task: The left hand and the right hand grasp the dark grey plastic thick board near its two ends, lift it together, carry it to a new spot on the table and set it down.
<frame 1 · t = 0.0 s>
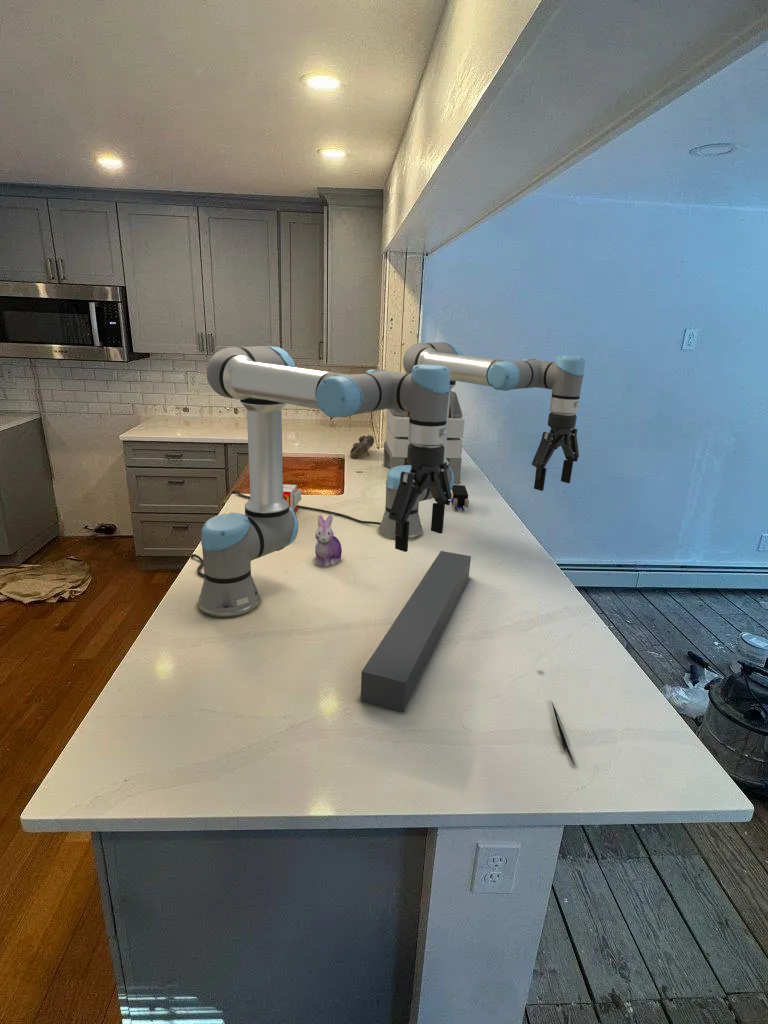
left hand: (419, 540, 122), 28 cm above the counter, tool pointing down, fingers open, 13 cm apart
right hand: (552, 485, 166), 28 cm above the counter, tool pointing down, fingers open, 13 cm apart
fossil: (361, 454, 304), on the counter
thick board: (425, 627, 142), on the counter
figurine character: (458, 507, 230), on the counter
toy: (282, 516, 211), on the counter
figurine: (327, 561, 176), on the counter
feather: (554, 714, 113), on the counter
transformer: (419, 473, 275), on the counter
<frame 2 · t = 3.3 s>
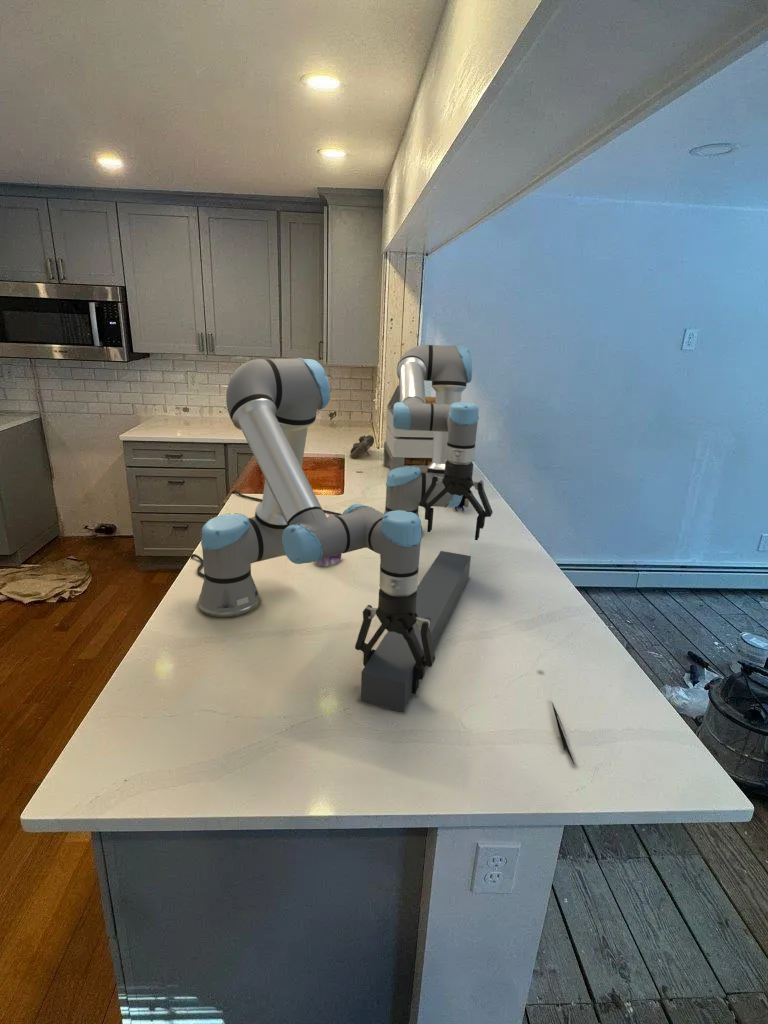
left hand: (392, 684, 119), 1 cm above the counter, tool pointing down, fingers closed on thick board, 9 cm apart
right hand: (452, 534, 159), 16 cm above the counter, tool pointing down, fingers open, 13 cm apart
thick board: (425, 627, 142), on the counter, touching left hand
everything else where it was.
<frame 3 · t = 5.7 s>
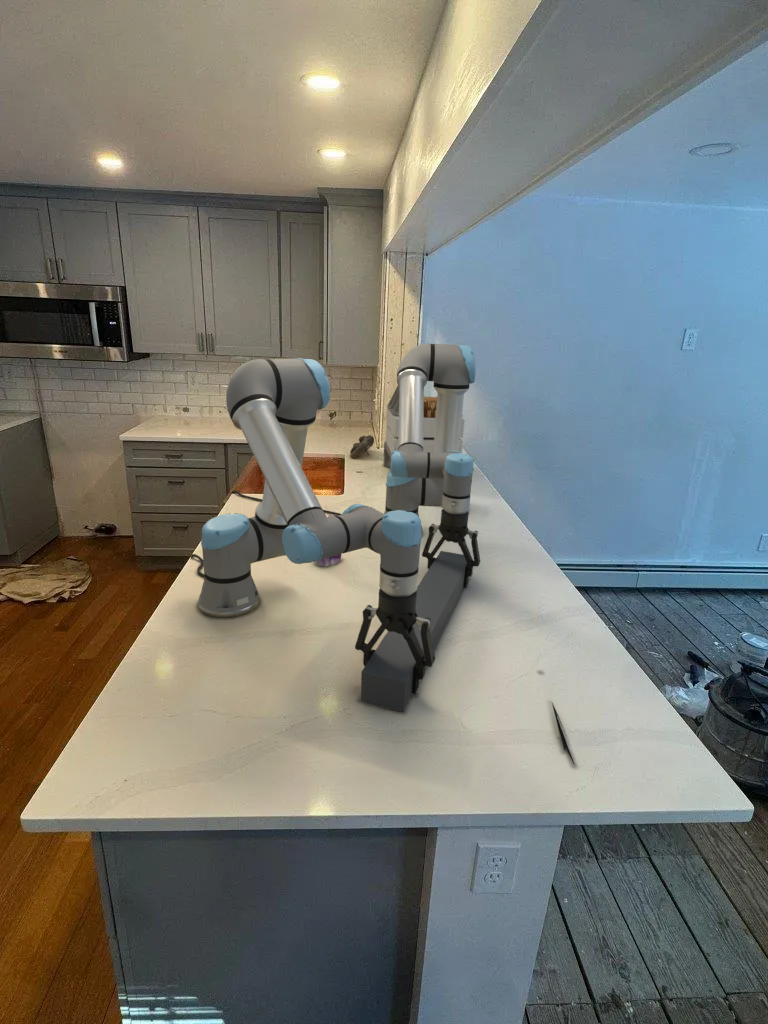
left hand: (392, 684, 119), 1 cm above the counter, tool pointing down, fingers closed on thick board, 9 cm apart
right hand: (448, 582, 165), 1 cm above the counter, tool pointing down, fingers closed on thick board, 9 cm apart
thick board: (425, 627, 142), on the counter, touching right hand, left hand
everything else where it was.
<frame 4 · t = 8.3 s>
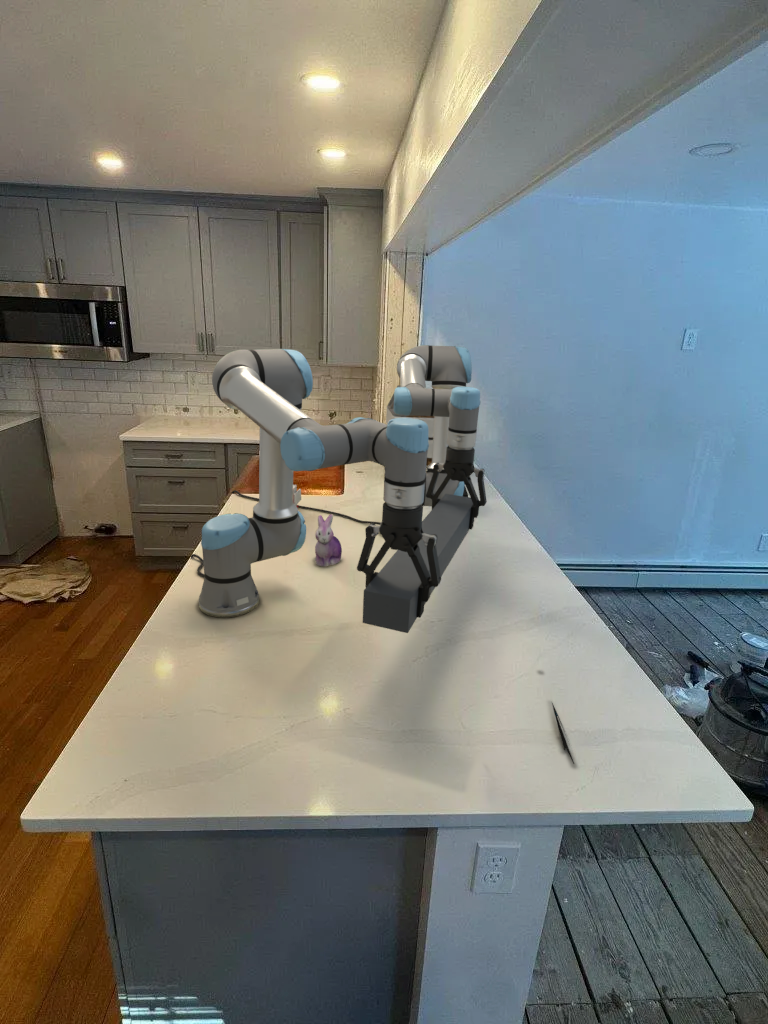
left hand: (396, 608, 113), 18 cm above the counter, tool pointing down, fingers closed on thick board, 9 cm apart
right hand: (453, 524, 159), 18 cm above the counter, tool pointing down, fingers closed on thick board, 9 cm apart
thick board: (429, 562, 136), point 18 cm above the counter, touching right hand, left hand
everything else where it was.
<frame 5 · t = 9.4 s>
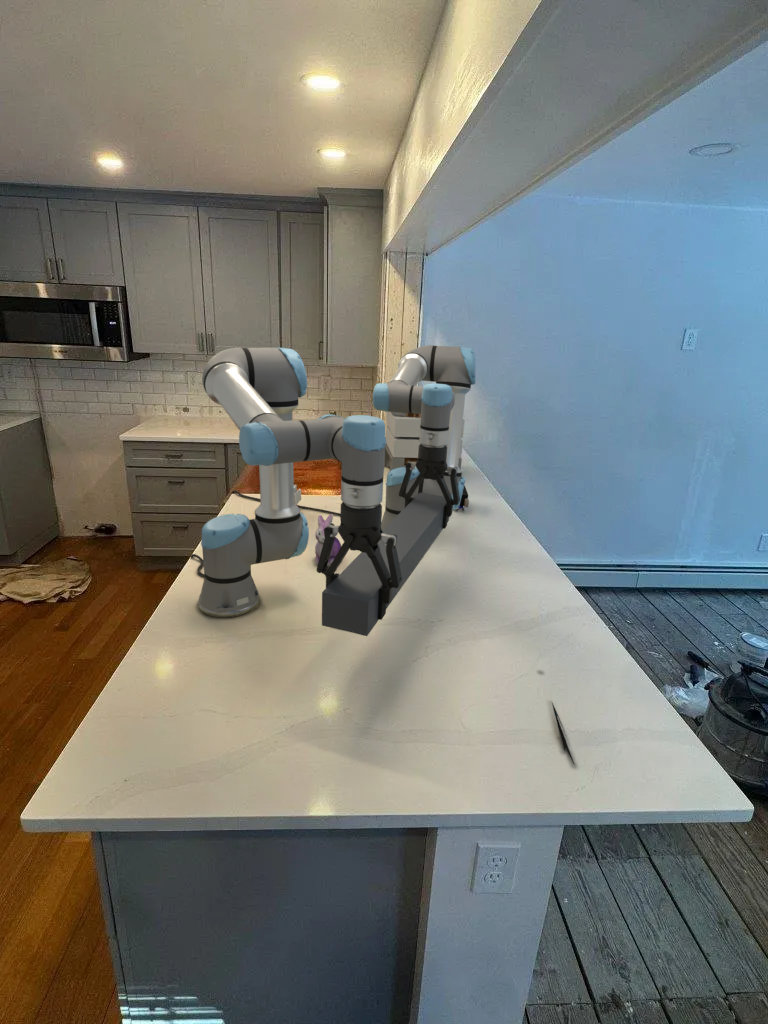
left hand: (357, 610, 111), 19 cm above the counter, tool pointing down, fingers closed on thick board, 9 cm apart
right hand: (427, 524, 156), 19 cm above the counter, tool pointing down, fingers closed on thick board, 9 cm apart
thick board: (398, 562, 134), point 18 cm above the counter, touching right hand, left hand
everything else where it was.
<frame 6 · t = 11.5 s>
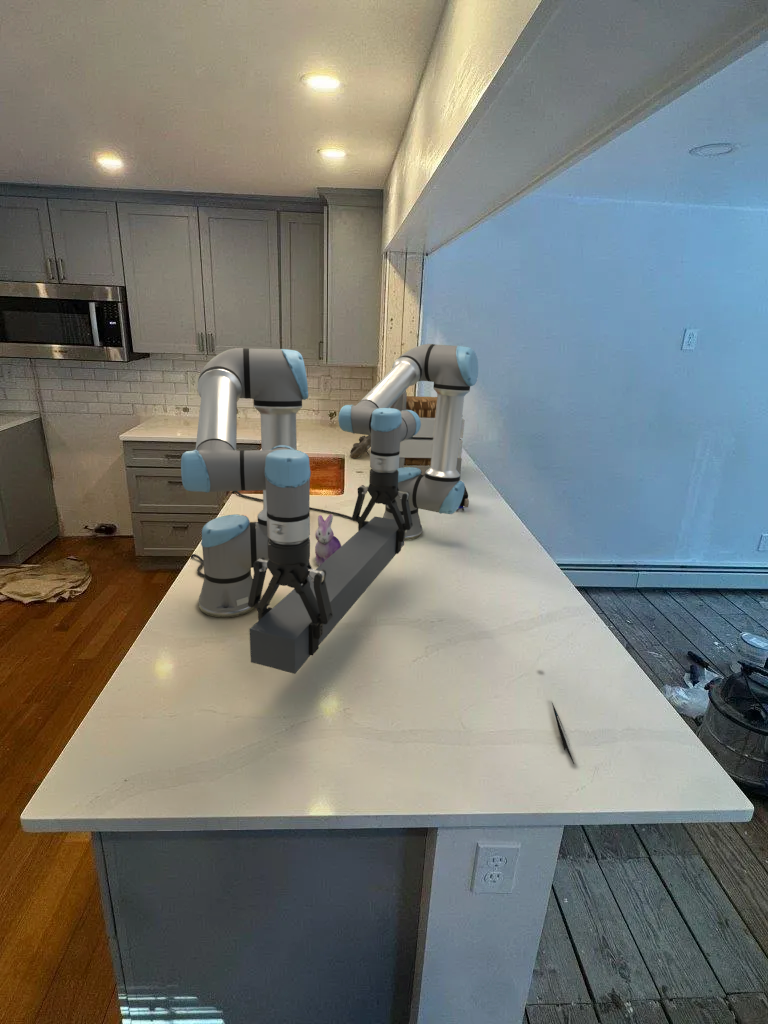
left hand: (290, 645, 109), 13 cm above the counter, tool pointing down, fingers closed on thick board, 9 cm apart
right hand: (380, 548, 154), 13 cm above the counter, tool pointing down, fingers closed on thick board, 9 cm apart
thick board: (343, 591, 132), point 12 cm above the counter, touching right hand, left hand
everything else where it was.
when the left hand's fingers open (2 cm above the counter, at t = 13.4 s): thick board stays where it is, on the counter.
when the right hand's fingers open (2 cm above the counter, at t = 13.4 s): thick board stays where it is, on the counter.
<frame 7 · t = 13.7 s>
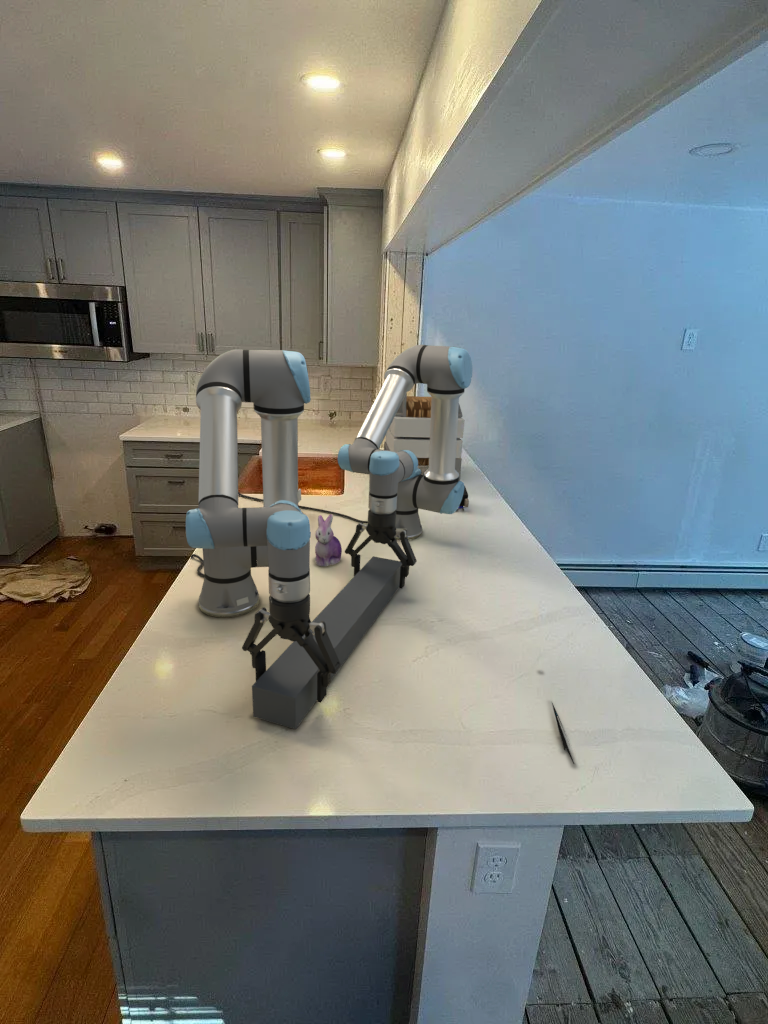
left hand: (291, 690, 112), 3 cm above the counter, tool pointing down, fingers open, 13 cm apart
right hand: (379, 582, 158), 3 cm above the counter, tool pointing down, fingers open, 13 cm apart
thick board: (342, 637, 136), on the counter
everything else where it was.
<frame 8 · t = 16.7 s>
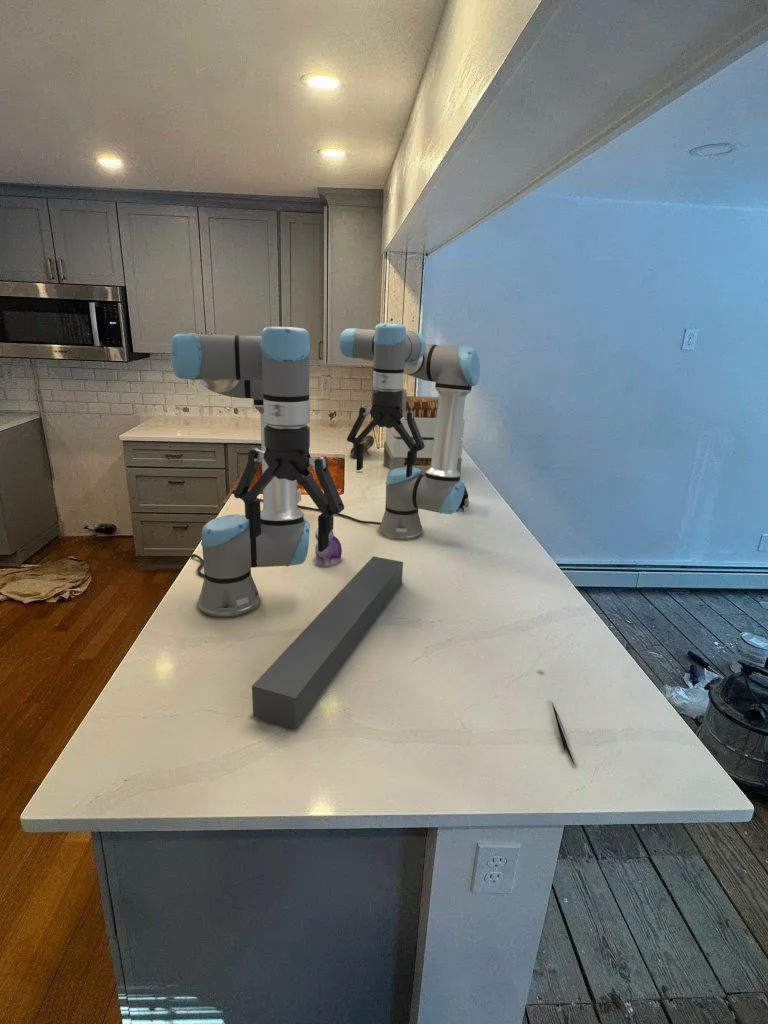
left hand: (288, 542, 101), 35 cm above the counter, tool pointing down, fingers open, 13 cm apart
right hand: (383, 472, 147), 35 cm above the counter, tool pointing down, fingers open, 13 cm apart
nothing on the counter moved.
at the end: thick board inside the target area (0.3 cm from its centre), on the counter; thick board tilted 0°; thick board never tilted more than 1° during the clip; both hands held the thick board at the same time; the left hand is holding nothing; the right hand is holding nothing; thick board at rest at the end (0.0 cm/s) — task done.
